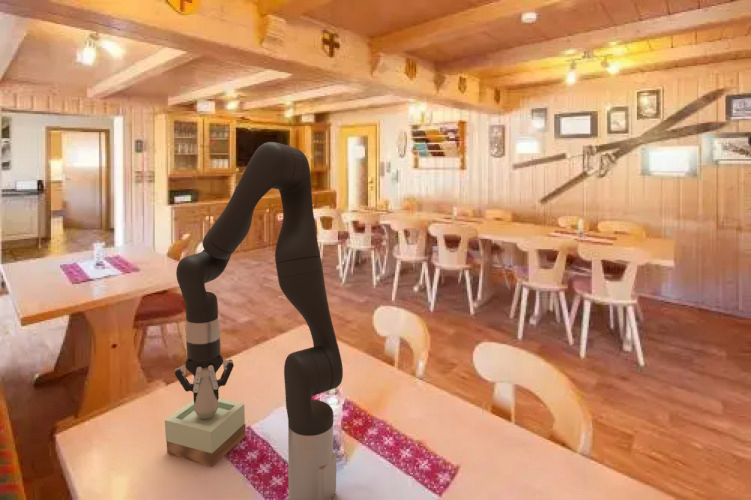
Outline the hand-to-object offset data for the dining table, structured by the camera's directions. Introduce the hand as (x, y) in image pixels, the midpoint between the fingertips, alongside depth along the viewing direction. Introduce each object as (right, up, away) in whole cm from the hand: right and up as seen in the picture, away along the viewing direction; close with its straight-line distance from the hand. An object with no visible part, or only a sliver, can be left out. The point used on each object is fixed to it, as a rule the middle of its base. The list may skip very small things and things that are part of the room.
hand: (206, 402), depth 113 cm
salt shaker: (0, -3, +1) cm, 3 cm away
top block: (0, -8, +2) cm, 8 cm away
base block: (-1, -12, +2) cm, 12 cm away
